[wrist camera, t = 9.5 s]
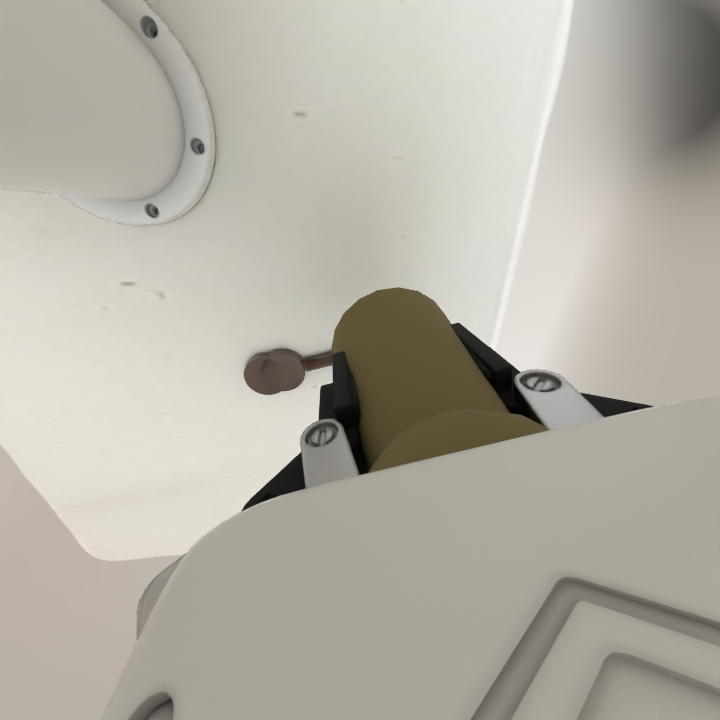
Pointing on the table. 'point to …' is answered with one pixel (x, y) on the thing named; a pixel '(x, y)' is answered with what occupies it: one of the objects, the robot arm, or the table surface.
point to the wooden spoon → (281, 370)
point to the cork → (418, 383)
